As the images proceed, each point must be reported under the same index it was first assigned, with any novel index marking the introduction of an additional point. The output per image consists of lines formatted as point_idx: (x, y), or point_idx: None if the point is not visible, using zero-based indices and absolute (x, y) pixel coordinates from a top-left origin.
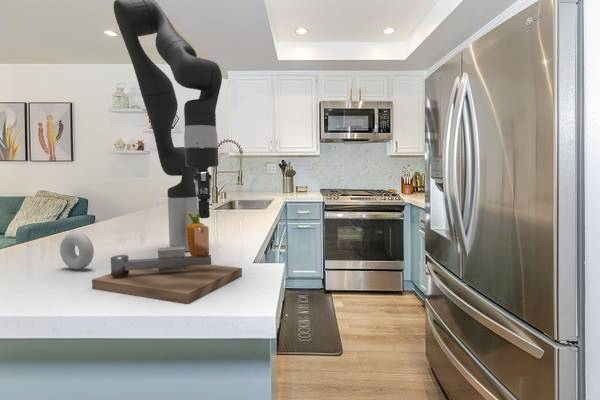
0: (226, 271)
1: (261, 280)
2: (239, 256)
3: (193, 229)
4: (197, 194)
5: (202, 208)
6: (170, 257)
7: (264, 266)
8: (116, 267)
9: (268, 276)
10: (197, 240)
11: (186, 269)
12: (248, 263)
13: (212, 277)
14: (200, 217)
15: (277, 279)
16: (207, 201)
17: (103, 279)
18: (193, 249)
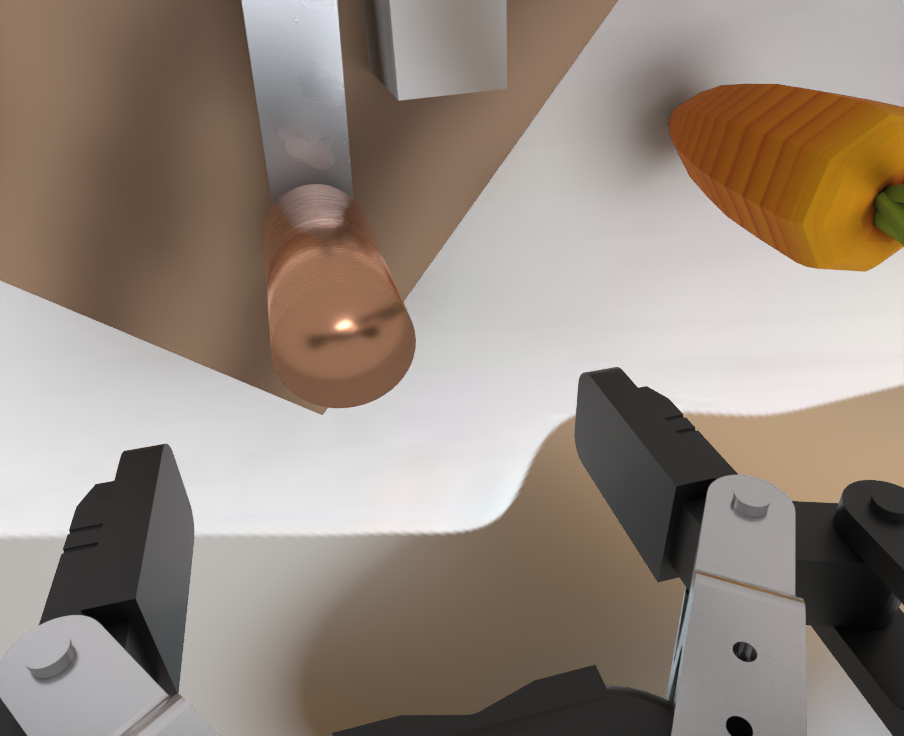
0: (257, 343)
1: (223, 475)
2: (726, 352)
3: (797, 174)
4: (783, 509)
5: (69, 573)
6: None
7: (476, 474)
8: None
9: (290, 498)
10: (275, 263)
11: (355, 81)
12: (561, 403)
13: (120, 276)
14: (127, 454)
15: (232, 534)
16: (159, 685)
17: None
18: (701, 122)
